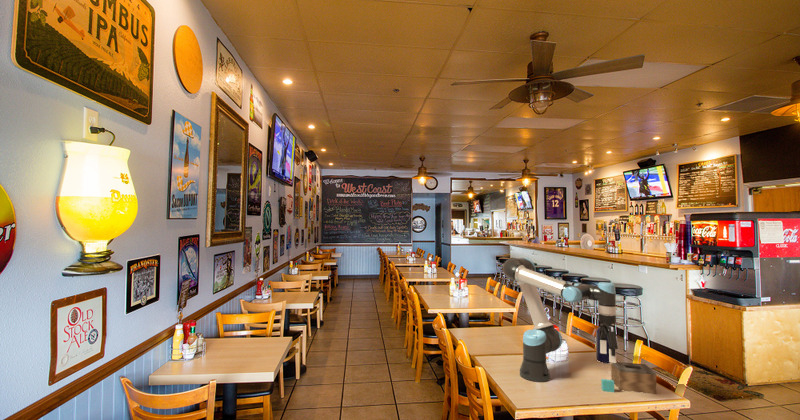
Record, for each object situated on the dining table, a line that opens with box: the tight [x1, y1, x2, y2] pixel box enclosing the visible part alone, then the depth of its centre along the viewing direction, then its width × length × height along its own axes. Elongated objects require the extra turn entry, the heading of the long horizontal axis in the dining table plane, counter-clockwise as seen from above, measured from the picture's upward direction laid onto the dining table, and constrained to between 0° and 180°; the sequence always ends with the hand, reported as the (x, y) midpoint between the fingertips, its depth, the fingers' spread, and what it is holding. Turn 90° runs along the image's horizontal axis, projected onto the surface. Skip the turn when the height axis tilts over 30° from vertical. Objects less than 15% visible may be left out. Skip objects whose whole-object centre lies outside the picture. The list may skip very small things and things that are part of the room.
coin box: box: [610, 361, 657, 395], centre depth 184 cm, size 16×12×10 cm
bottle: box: [595, 326, 610, 364], centre depth 222 cm, size 9×9×30 cm
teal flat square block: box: [601, 378, 615, 393], centre depth 179 cm, size 5×2×5 cm, turn 77°
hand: (607, 357), depth 180 cm, fingers open, 13 cm apart
